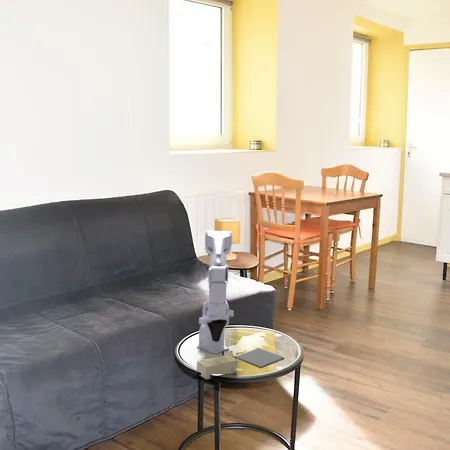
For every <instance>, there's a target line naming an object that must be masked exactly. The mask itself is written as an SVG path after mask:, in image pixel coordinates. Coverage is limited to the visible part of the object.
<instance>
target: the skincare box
mask: <svg viewBox="0 0 450 450" xmlns="http://www.w3.org/2000/svg"><path fill="white" fill-rule="evenodd" d="M237 364H238V360H237V359H236V358H233V357H232V356H231V355H228V354H225V355H224V354H223V355H220V356H219V355H218V356H214V357H211V358H210V357H209V358H205V359H201V360H197V361H196V372H197V371H199V372H200V373H201V375H199V376H200V377H201V378H203V379H205V380H210V379H211V378H210V375H212V374H223V376H226V375H225V374H227V375H230V374H236V373H237V366H238V365H237Z"/></svg>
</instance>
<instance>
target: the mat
mask: <svg viewBox="0 0 450 450" xmlns="http://www.w3.org/2000/svg"><path fill="white" fill-rule="evenodd" d="M282 358H284V359H285V356H282V355H279V354H276V353H274V352H271V351H268V350H265V349H263V348H260V347H257V348H255V349H253V350H250V351H247V352H244V353H242V354H239V355H236V356H235V358H234V359H236V360H237V359H238V360H240V361H243V362H245V363H248V364H251V365H253V366H255V367H258V368H260V369H261V368H263V367H267V366H269V365H271V364H273V363H277V362H279V361H281V360H283V359H282ZM280 359H281V360H280ZM278 360H279V361H278Z"/></svg>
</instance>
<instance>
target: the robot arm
mask: <svg viewBox="0 0 450 450" xmlns="http://www.w3.org/2000/svg"><path fill="white" fill-rule="evenodd" d="M204 233H205V234H204V246H205V248H204V250H205V253H206V254H208V255H210V257H209V268H208V271H207V273H208V277H207V281H208V300H207V301H205V302H204V303H203V305H202V306H203V307H202V316H201V317H199V318H198V324H199V325H200V327H199V331H198V345H196V347H197V348H199V349H202V350H204V351H207V352H209V353H211V354H213V355H215V354H218V353H222V352H224V351H227V350H229V349H230V347H229V346H226V345H225V340H226V339H225V336H226V326H228V325H229V323H230V318H232V317H234V312H235V311H234V310H232V309H230V306H229V303H228V302H227V284H228V282H229V266H228V264H227V263H228V261H227V260H228V258H227V255H229V254H230V252H231V251H232V250H231V249H232V243H233V233H232V231H231V230H229V231H228V230H225V231H224V230H208V229H207V230H206V231H205V232H204Z"/></svg>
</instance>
